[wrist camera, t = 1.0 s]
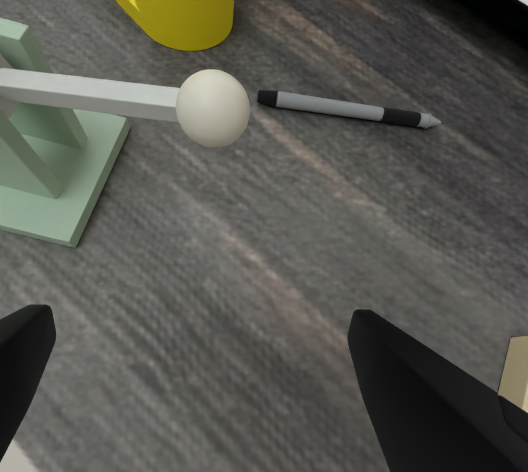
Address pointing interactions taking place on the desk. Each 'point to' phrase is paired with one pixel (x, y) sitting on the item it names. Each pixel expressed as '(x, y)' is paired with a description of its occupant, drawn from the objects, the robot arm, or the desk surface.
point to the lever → (139, 100)
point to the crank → (183, 21)
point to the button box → (516, 373)
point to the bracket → (51, 154)
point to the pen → (346, 109)
